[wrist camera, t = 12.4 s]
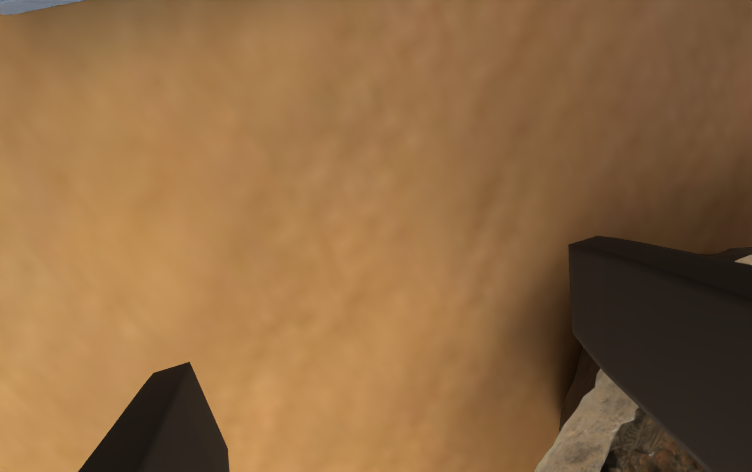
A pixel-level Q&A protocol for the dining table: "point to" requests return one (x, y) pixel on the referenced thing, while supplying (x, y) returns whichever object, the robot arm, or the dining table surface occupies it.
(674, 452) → the stone bowl
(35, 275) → the dining table surface
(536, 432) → the dining table surface
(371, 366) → the dining table surface
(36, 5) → the pen rack
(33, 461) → the dining table surface
